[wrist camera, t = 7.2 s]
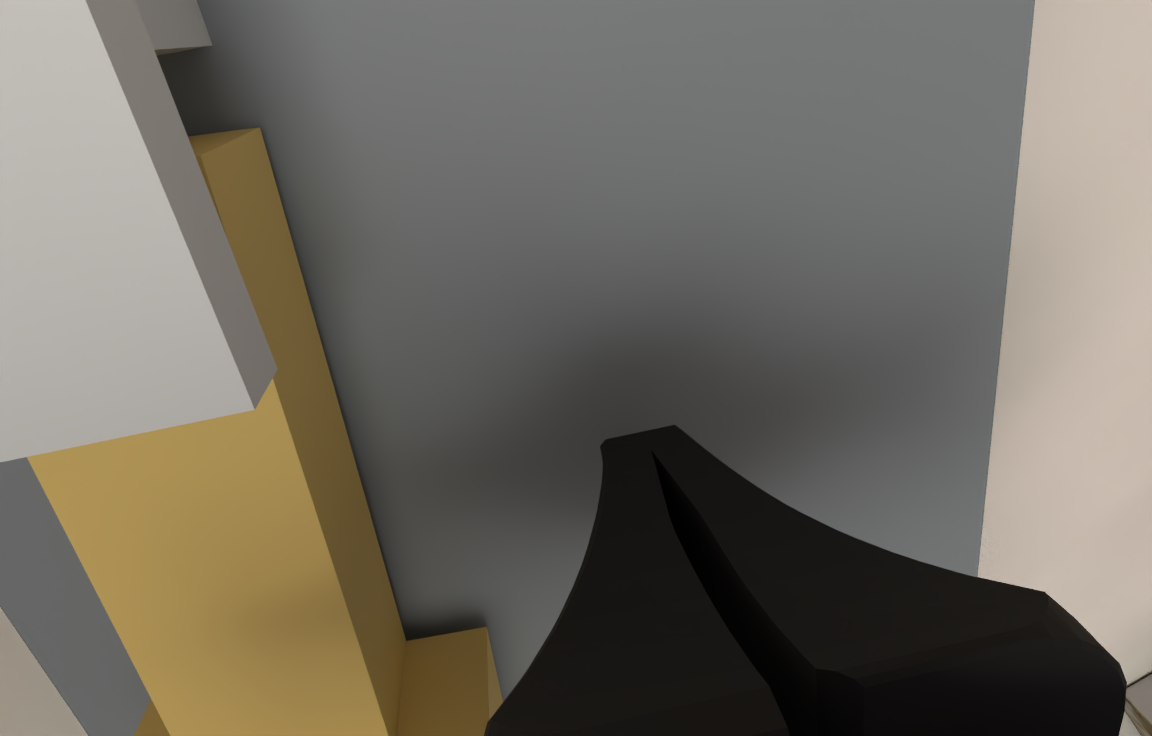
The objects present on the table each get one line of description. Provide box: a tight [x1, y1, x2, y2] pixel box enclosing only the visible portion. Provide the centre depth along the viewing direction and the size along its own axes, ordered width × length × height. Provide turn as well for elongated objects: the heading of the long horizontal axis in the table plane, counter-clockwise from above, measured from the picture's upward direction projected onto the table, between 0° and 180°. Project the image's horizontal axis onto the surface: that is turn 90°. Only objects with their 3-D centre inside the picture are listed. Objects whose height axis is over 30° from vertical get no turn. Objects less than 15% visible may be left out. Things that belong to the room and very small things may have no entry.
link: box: [27, 127, 503, 736], centre depth 12 cm, size 16×6×3 cm, turn 6°
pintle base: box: [0, 0, 1035, 736], centre depth 12 cm, size 19×22×5 cm
